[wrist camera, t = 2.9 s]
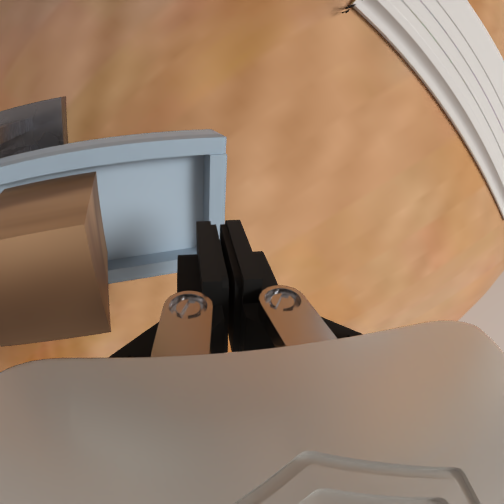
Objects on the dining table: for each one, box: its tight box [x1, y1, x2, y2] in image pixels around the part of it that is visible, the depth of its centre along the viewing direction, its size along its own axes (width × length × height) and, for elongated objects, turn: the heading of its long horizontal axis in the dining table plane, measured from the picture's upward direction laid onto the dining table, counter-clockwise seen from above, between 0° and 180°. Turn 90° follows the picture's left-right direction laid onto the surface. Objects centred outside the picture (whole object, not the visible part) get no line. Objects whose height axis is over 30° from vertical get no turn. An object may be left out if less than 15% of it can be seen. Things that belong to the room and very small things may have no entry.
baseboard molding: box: [342, 0, 504, 219], centre depth 20 cm, size 31×3×12 cm
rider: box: [0, 171, 111, 347], centre depth 11 cm, size 4×5×6 cm
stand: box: [0, 96, 68, 158], centre depth 14 cm, size 12×28×8 cm, turn 86°
